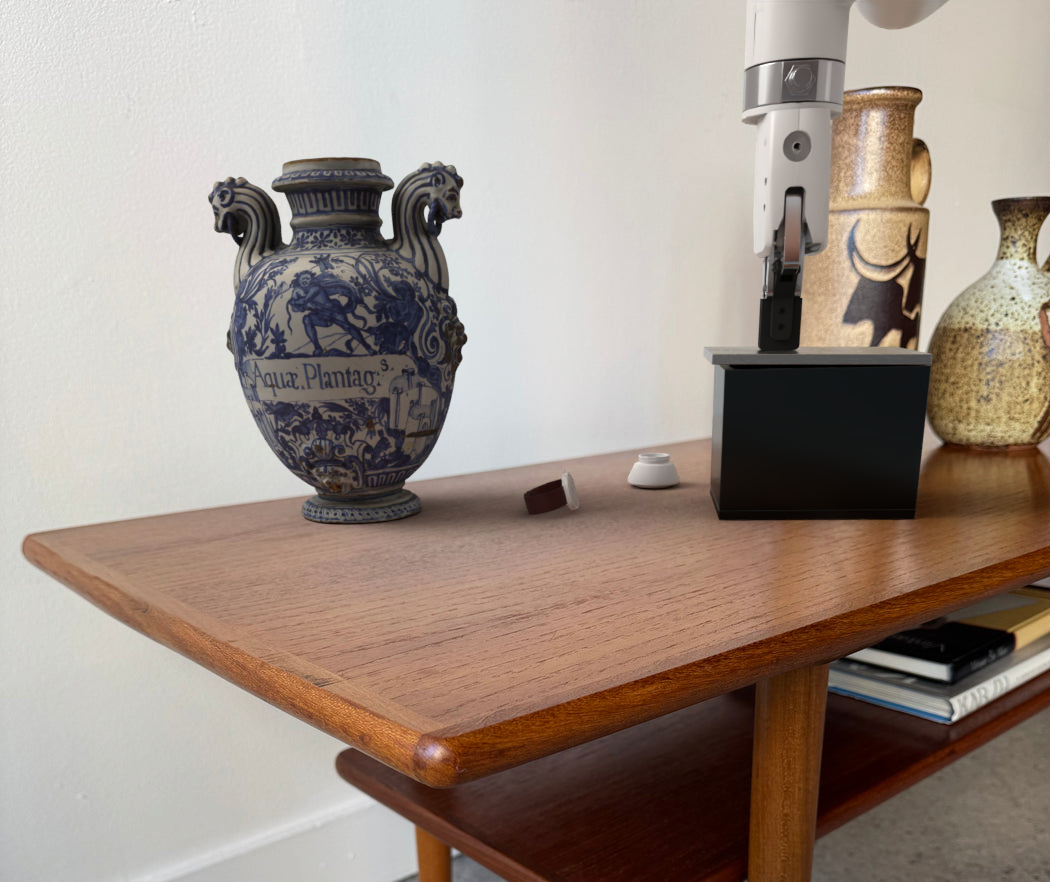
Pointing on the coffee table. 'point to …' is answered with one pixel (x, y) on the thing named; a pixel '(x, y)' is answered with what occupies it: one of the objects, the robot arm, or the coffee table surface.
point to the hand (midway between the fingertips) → (778, 349)
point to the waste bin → (817, 441)
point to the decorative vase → (345, 327)
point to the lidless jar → (653, 471)
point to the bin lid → (817, 356)
